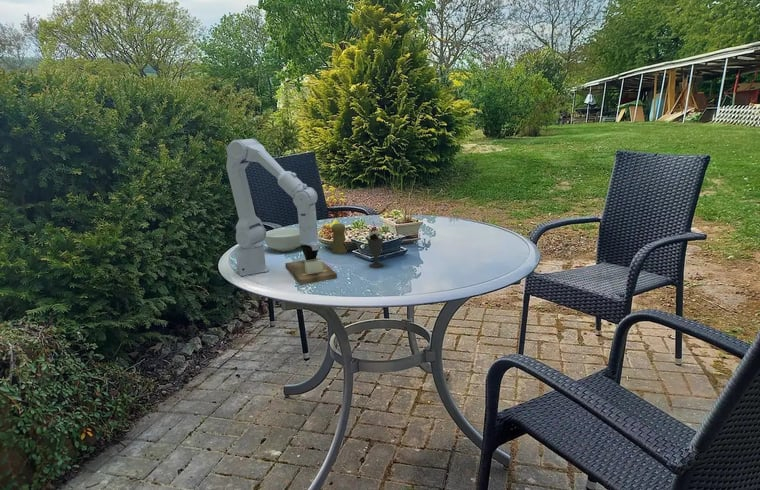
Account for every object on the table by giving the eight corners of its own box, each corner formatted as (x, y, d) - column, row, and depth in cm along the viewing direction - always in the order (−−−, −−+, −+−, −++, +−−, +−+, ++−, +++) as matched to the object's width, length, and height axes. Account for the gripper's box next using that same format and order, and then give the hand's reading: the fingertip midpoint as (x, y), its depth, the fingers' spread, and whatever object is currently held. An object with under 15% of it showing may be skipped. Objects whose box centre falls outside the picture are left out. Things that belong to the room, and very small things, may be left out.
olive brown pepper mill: (345, 254, 169) (343, 225, 166) (330, 253, 170) (328, 225, 167) (349, 249, 174) (348, 222, 172) (334, 249, 176) (332, 222, 173)
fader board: (300, 284, 139) (300, 279, 138) (285, 267, 156) (285, 262, 156) (337, 278, 143) (336, 273, 143) (318, 261, 161) (318, 257, 160)
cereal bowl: (311, 242, 187) (309, 226, 185) (303, 254, 171) (301, 236, 169) (271, 243, 188) (269, 227, 186) (259, 255, 172) (257, 237, 170)
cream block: (307, 274, 143) (306, 262, 142) (305, 271, 145) (304, 260, 144) (322, 271, 145) (322, 260, 144) (320, 269, 147) (319, 257, 146)
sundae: (376, 261, 159) (374, 220, 154) (389, 265, 154) (388, 222, 150) (362, 266, 154) (360, 223, 150) (376, 270, 149) (374, 226, 145)
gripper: (326, 228, 139) (329, 270, 142) (313, 220, 152) (316, 258, 155) (304, 231, 136) (308, 274, 140) (293, 223, 149) (296, 262, 152)
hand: (311, 266), depth 147 cm, fingers closed
